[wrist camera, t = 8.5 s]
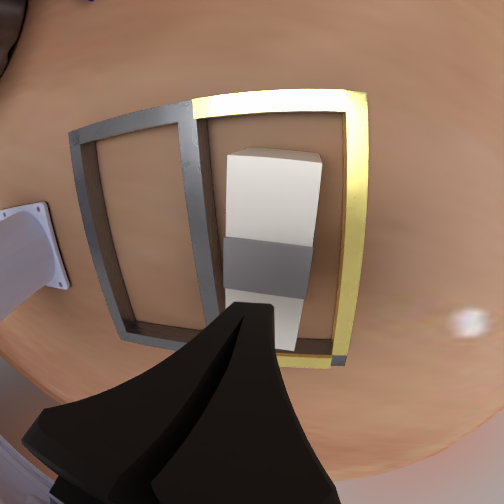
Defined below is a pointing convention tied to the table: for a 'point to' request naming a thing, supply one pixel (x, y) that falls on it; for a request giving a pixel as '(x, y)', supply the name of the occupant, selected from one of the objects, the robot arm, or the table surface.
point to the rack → (204, 217)
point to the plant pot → (9, 27)
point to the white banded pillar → (271, 232)
